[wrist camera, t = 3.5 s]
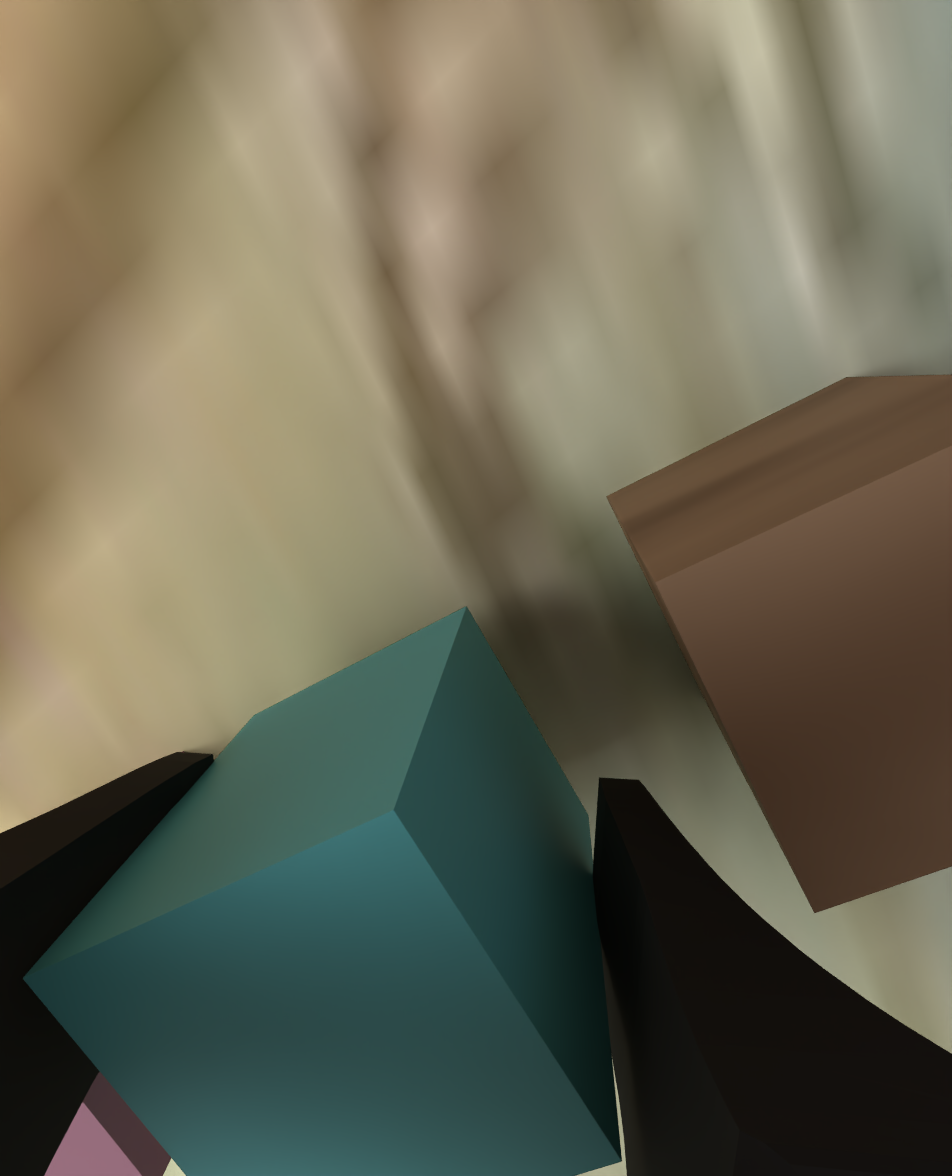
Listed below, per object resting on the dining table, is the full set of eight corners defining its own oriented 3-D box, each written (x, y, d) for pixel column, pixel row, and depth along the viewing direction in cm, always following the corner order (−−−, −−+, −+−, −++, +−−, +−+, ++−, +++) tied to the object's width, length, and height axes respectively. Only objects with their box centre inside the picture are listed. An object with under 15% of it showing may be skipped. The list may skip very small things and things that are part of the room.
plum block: (291, 909, 16) (154, 1192, 11) (138, 970, 17) (-63, 1260, 12) (184, 750, 15) (-28, 966, 10) (29, 824, 16) (-248, 1060, 11)
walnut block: (933, 600, 13) (1236, 769, 7) (703, 697, 14) (814, 913, 8) (845, 377, 12) (1113, 370, 6) (605, 496, 13) (654, 583, 7)
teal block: (588, 815, 13) (621, 1161, 7) (380, 902, 14) (263, 1269, 8) (466, 606, 12) (393, 809, 6) (254, 715, 13) (22, 978, 7)
